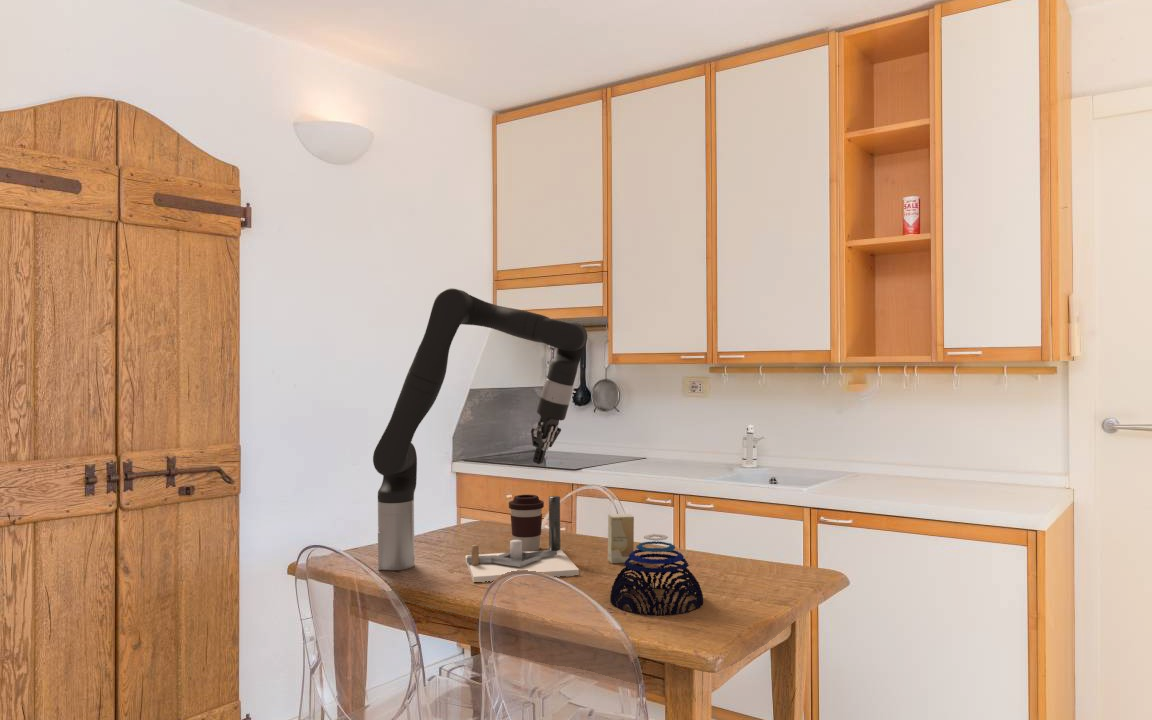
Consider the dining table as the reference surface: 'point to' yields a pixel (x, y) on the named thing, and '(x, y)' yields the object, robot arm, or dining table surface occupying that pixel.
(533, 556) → the grey angle bracket
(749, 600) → the dining table surface
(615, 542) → the skincare box
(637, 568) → the decorative bowl
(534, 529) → the coffee cup
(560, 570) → the post base
